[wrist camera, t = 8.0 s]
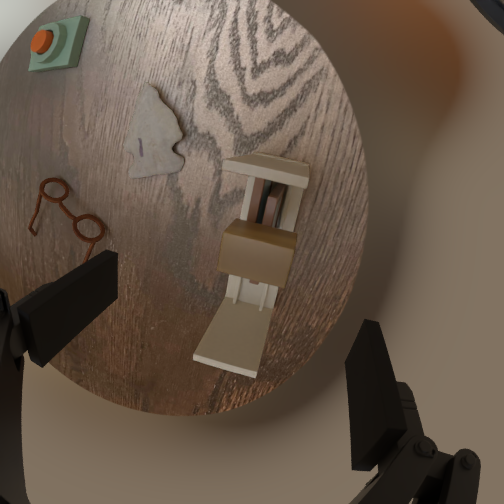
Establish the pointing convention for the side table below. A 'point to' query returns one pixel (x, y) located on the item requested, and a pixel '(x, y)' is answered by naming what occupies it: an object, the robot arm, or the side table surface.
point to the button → (42, 41)
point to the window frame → (239, 289)
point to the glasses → (66, 211)
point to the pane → (259, 246)
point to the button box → (61, 45)
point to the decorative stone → (152, 136)
